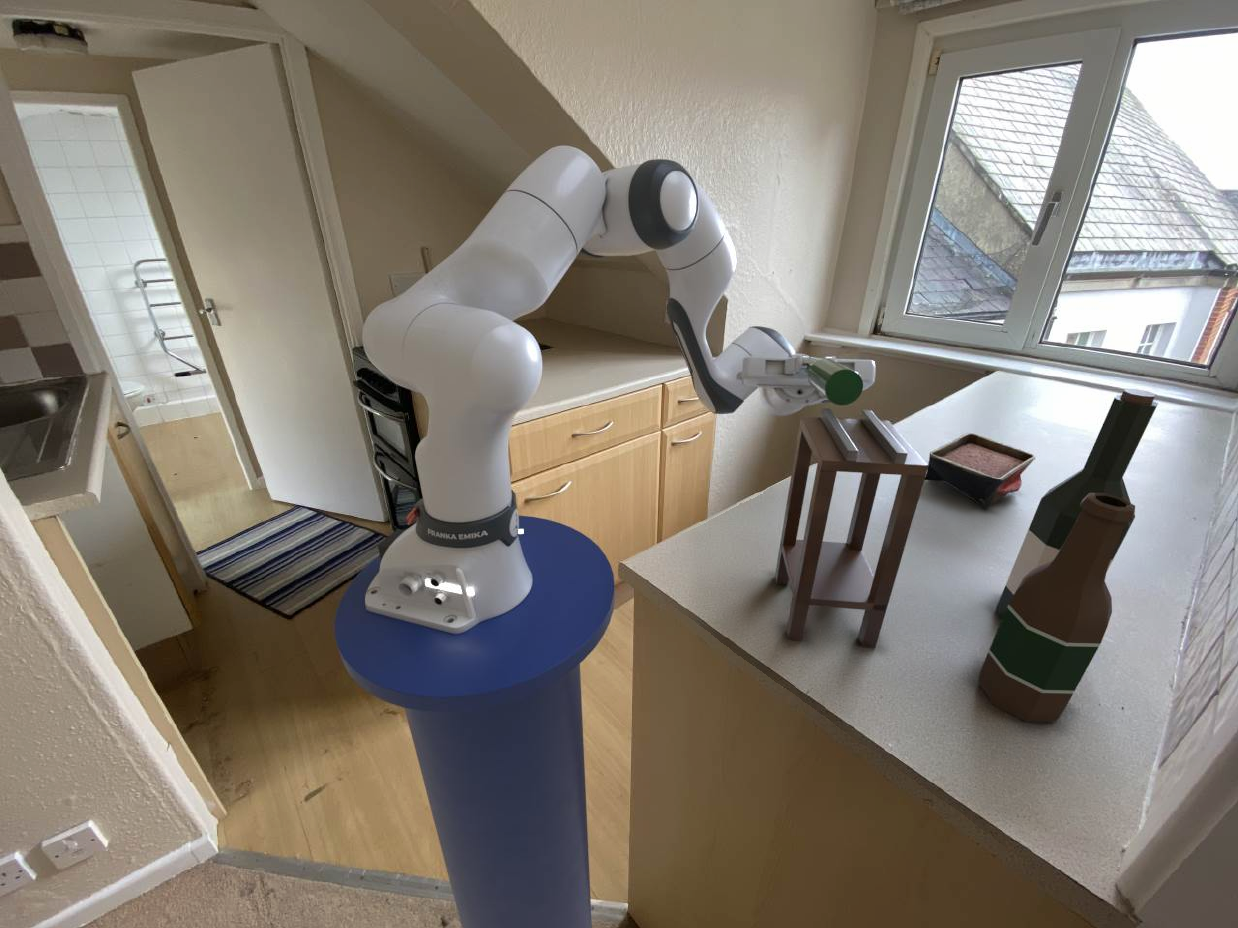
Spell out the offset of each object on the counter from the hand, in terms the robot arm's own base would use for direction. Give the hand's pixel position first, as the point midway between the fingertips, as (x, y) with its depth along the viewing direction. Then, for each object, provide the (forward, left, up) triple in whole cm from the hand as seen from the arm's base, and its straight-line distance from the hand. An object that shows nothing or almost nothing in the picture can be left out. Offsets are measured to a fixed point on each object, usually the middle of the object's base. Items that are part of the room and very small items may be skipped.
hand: (817, 360), depth 77 cm
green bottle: (0, -6, -3) cm, 7 cm away
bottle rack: (0, -23, -26) cm, 35 cm away
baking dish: (+34, +14, -26) cm, 45 cm away
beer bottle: (+18, -34, -26) cm, 47 cm away
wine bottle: (+26, -22, -26) cm, 43 cm away
